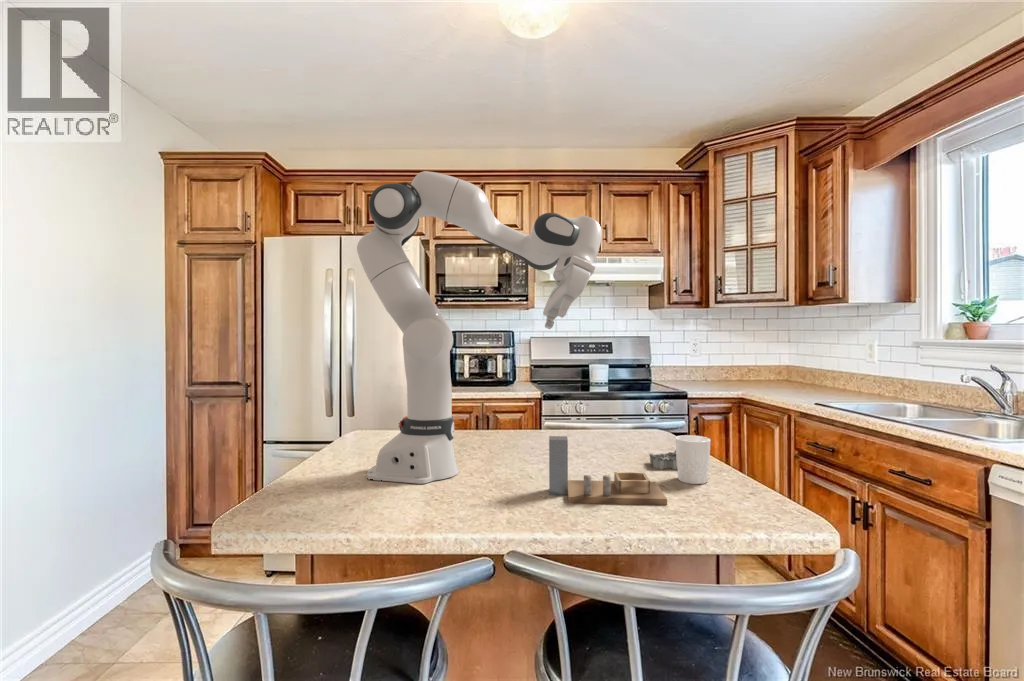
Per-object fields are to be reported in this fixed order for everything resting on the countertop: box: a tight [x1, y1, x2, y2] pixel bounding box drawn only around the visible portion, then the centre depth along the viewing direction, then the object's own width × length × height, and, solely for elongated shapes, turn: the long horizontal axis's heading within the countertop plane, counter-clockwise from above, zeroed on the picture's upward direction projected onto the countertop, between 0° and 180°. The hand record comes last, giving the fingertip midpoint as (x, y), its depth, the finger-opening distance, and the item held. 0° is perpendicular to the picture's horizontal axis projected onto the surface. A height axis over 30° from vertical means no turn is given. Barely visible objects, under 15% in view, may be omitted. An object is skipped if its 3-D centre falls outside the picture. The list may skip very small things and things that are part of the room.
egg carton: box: [648, 449, 678, 470], centre depth 134 cm, size 11×8×4 cm
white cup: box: [674, 434, 711, 485], centre depth 121 cm, size 8×8×10 cm
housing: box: [567, 471, 668, 506], centre depth 110 cm, size 20×12×5 cm, turn 86°
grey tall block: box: [548, 435, 569, 496], centre depth 112 cm, size 4×4×12 cm
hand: (554, 322), depth 123 cm, fingers open, 8 cm apart
